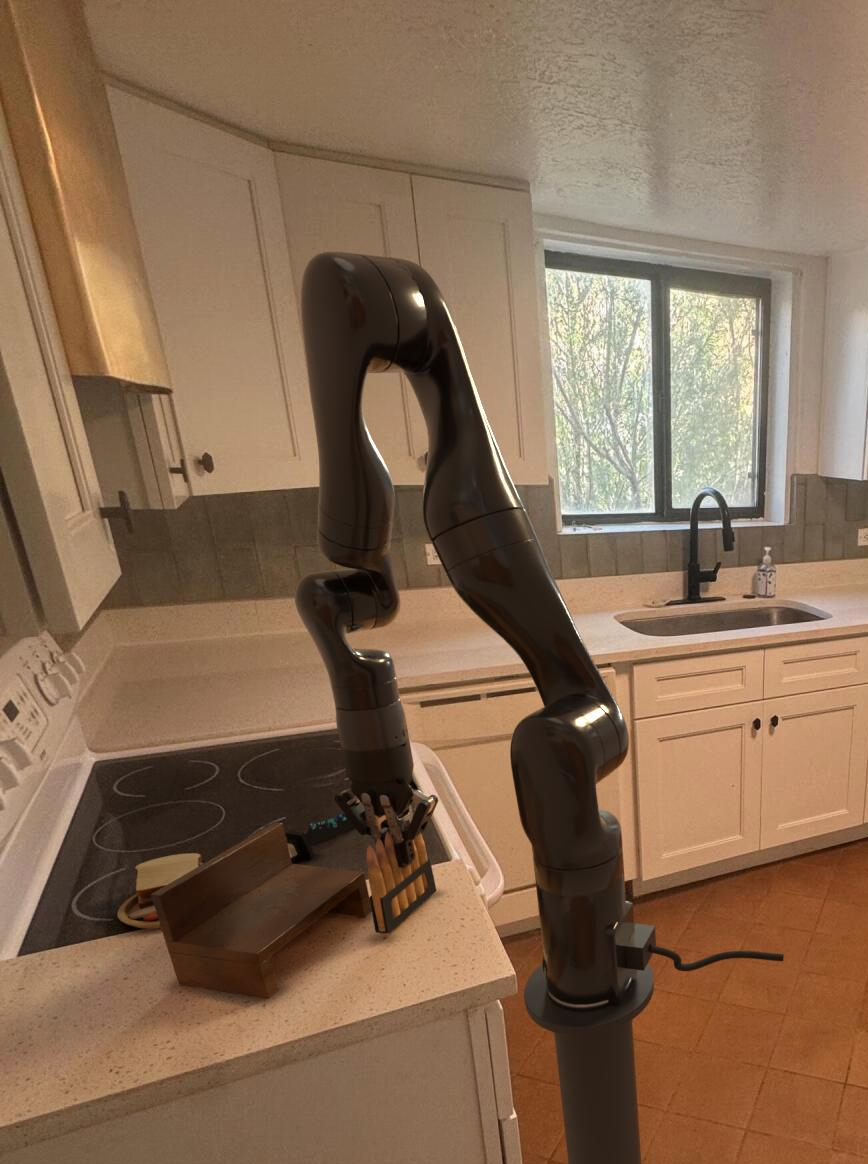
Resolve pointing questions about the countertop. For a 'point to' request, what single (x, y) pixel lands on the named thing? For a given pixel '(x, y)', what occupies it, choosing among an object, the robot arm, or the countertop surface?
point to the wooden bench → (249, 912)
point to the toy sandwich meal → (154, 887)
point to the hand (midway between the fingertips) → (398, 863)
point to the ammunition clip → (397, 883)
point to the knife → (316, 835)
